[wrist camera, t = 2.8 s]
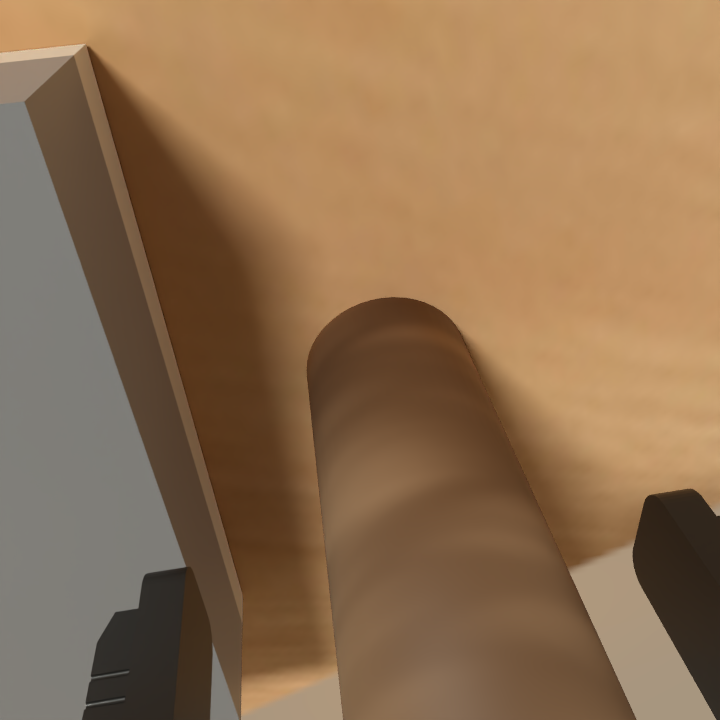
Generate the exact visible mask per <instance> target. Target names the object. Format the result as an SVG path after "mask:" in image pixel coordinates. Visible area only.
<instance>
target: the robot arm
mask: <svg viewBox="0 0 720 720" xmlns="http://www.w3.org/2000/svg"><path fill="white" fill-rule="evenodd" d="M633 563H634V569H635V572H636V575H637V578H638V581H639V583H640V585H641V587H642V589H643V590H644V592H645V594H646V596H647V598H648V599H649V601H650V603H651V605H652V606H653V608H654V610H655V612H656V613H657V615H658V617H659V619H660V620H661V622H662V624H663V626H664V628H665V629H666V631H667V633H668V635H669V636H670V638H671V640H672V641H673V643H674V645H675V647H676V649H677V650H678V652H679V654H680V656H681V657H682V659H683V661H684V663H685V665H686V666H687V668H688V670H689V672H690V674H691V675H692V677H693V679H694V681H695V682H696V684H697V686H698V688H699V689H700V691H701V693H702V695H703V696H704V698H705V700H706V702H707V704H708V705H709V707H710V709H711V711H712V712H713V714H714V716H715V718H716V719H717V720H720V516H716V515H715V514H714V512H713V511H712V509H711V508H710V507H709V505H708V504H707V503H706V501H705V500H704V499H703V498H702V496H701V495H700V494H699V493H698V492H697V491H695V490H693V489H685V490H678V491H672V492H666V493H659V494H653V495H649V496H648V497H647V498H646V499H645V502H644V506H643V510H642V514H641V518H640V522H639V526H638V531H637V535H636V539H635V543H634V547H633ZM212 660H213V645H212V633H211V626H210V621H209V617H208V614H207V611H206V608H205V605H204V602H203V599H202V596H201V593H200V590H199V587H198V584H197V581H196V578H195V575H194V572H193V570H192V568H191V567H183V568H177V569H170V570H164V571H158V572H151V573H147V574H145V575H144V578H143V581H142V586H141V593H140V600H139V607H138V608H137V609H131V610H125V611H119V612H115V613H114V615H113V617H112V618H111V620H110V622H109V623H108V625H107V627H106V628H105V630H104V632H103V633H102V635H101V637H100V638H99V640H98V642H97V645H96V650H95V655H94V660H93V665H92V671H91V682H89V686H88V691H87V696H86V702H85V703H86V709H84V712H83V717H82V720H210V710H211V685H212Z"/></svg>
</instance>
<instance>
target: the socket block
mask: <svg viewBox="0 0 720 720" xmlns="http://www.w3.org/2000/svg"><path fill="white" fill-rule="evenodd" d="M183 567H191V568H192V570H193V572H194V575H195V578H196V581H197V584H198V587H199V590H200V593H201V596H202V599H203V602H204V605H205V608H206V611H207V614H208V617H209V621H210V626H211V633H212V645H213V660H212V685H211V710H210V720H241V681H242V624H243V595H242V591H241V588H240V584H239V580H238V577H237V573H236V570H235V566H234V563H233V559H232V556H231V552H230V549H229V545H228V542H227V538H226V535H225V531H224V528H223V524H222V521H221V517H220V514H219V510H218V507H217V503H216V500H215V496H214V493H213V489H212V486H211V482H210V479H209V475H208V471H207V468H206V464H205V461H204V457H203V454H202V450H201V447H200V443H199V440H198V436H197V433H196V429H195V426H194V422H193V419H192V415H191V412H190V408H189V405H188V401H187V398H186V394H185V391H184V387H183V384H182V380H181V377H180V373H179V370H178V366H177V362H176V359H175V355H174V352H173V348H172V345H171V341H170V338H169V334H168V331H167V327H166V324H165V320H164V317H163V313H162V310H161V306H160V303H159V299H158V296H157V292H156V289H155V285H154V282H153V278H152V275H151V271H150V268H149V264H148V261H147V257H146V253H145V250H144V246H143V243H142V239H141V236H140V232H139V229H138V225H137V222H136V218H135V215H134V211H133V208H132V204H131V201H130V197H129V194H128V190H127V187H126V183H125V180H124V176H123V173H122V169H121V166H120V162H119V159H118V155H117V152H116V148H115V144H114V141H113V137H112V134H111V130H110V127H109V123H108V120H107V116H106V113H105V109H104V106H103V102H102V99H101V95H100V92H99V88H98V85H97V81H96V78H95V74H94V71H93V67H92V64H91V60H90V57H89V53H88V50H87V46H86V44H79V45H70V46H60V47H51V48H42V49H32V50H23V51H13V52H4V53H0V720H82V717H83V712H84V709H86V703H85V702H86V696H87V691H88V686H89V682H91V671H92V665H93V660H94V655H95V650H96V645H97V642H98V640H99V638H100V637H101V635H102V633H103V632H104V630H105V628H106V627H107V625H108V623H109V622H110V620H111V618H112V617H113V615H114V613H115V612H119V611H125V610H131V609H137V608H138V607H139V600H140V593H141V586H142V581H143V578H144V575H145V574H147V573H151V572H158V571H164V570H170V569H177V568H183Z"/></svg>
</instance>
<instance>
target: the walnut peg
mask: <svg viewBox="0 0 720 720" xmlns="http://www.w3.org/2000/svg"><path fill="white" fill-rule="evenodd" d="M307 381H308V390H309V400H310V409H311V419H312V428H313V438H314V447H315V457H316V466H317V476H318V485H319V495H320V504H321V514H322V523H323V533H324V542H325V552H326V561H327V571H328V580H329V590H330V599H331V609H332V618H333V628H334V637H335V647H336V656H337V666H338V675H339V684H340V694H341V704H342V713H343V720H636V718H635V716H634V713H633V711H632V709H631V707H630V704H629V702H628V700H627V698H626V696H625V693H624V691H623V689H622V687H621V685H620V682H619V681H618V678H617V676H616V674H615V672H614V669H613V667H612V665H611V663H610V661H609V658H608V656H607V654H606V652H605V650H604V647H603V645H602V643H601V641H600V639H599V637H598V634H597V632H596V630H595V628H594V626H593V624H592V622H591V619H590V617H589V615H588V612H587V610H586V608H585V606H584V604H583V601H582V599H581V597H580V595H579V593H578V590H577V588H576V586H575V584H574V582H573V580H572V577H571V575H570V573H569V571H568V569H567V566H566V564H565V562H564V560H563V558H562V555H561V553H560V551H559V549H558V547H557V545H556V542H555V540H554V538H553V536H552V534H551V531H550V529H549V527H548V525H547V523H546V520H545V518H544V516H543V514H542V512H541V509H540V507H539V505H538V503H537V501H536V499H535V496H534V494H533V492H532V490H531V488H530V485H529V483H528V481H527V479H526V477H525V474H524V472H523V470H522V468H521V466H520V463H519V461H518V459H517V457H516V455H515V453H514V450H513V448H512V446H511V444H510V442H509V439H508V437H507V435H506V433H505V431H504V428H503V426H502V424H501V422H500V420H499V418H498V415H497V413H496V411H495V409H494V407H493V404H492V402H491V400H490V398H489V396H488V393H487V391H486V389H485V387H484V385H483V382H482V380H481V378H480V376H479V374H478V372H477V369H476V367H475V365H474V363H473V361H472V358H471V356H470V354H469V352H468V350H467V347H466V345H465V343H464V341H463V339H462V336H461V334H460V332H459V330H458V329H457V327H456V326H455V324H454V323H453V322H452V321H451V320H450V318H449V317H447V316H446V315H445V314H444V313H443V312H441V311H440V310H438V309H437V308H435V307H433V306H431V305H429V304H427V303H424V302H421V301H418V300H414V299H408V298H396V297H391V298H380V299H375V300H370V301H367V302H364V303H361V304H358V305H356V306H354V307H351V308H349V309H348V310H346V311H344V312H343V313H341V314H339V315H338V316H337V317H335V318H334V319H333V320H332V321H331V322H330V323H329V324H328V325H326V326H325V327H324V329H323V330H322V331H321V332H320V334H319V335H318V337H317V338H316V340H315V342H314V343H313V345H312V348H311V350H310V353H309V357H308V361H307Z"/></svg>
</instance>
